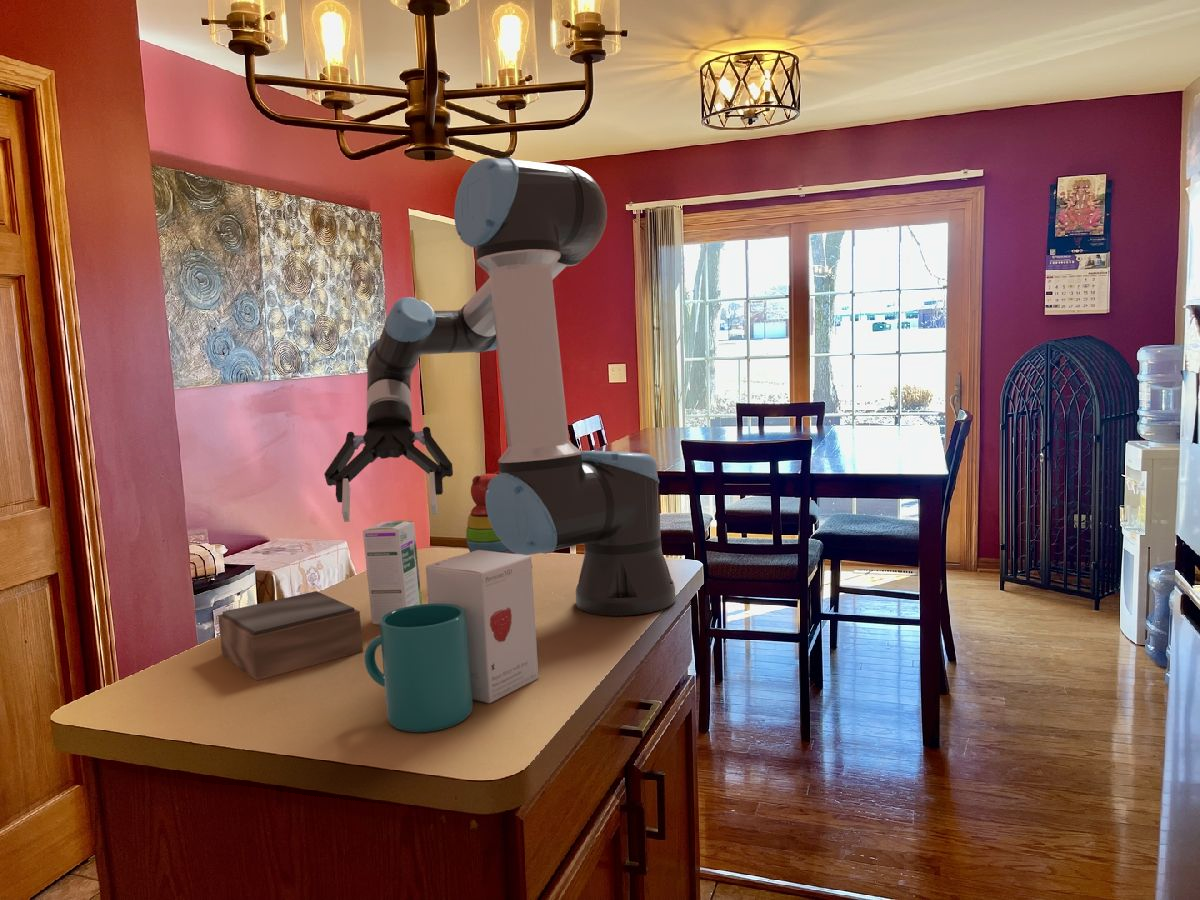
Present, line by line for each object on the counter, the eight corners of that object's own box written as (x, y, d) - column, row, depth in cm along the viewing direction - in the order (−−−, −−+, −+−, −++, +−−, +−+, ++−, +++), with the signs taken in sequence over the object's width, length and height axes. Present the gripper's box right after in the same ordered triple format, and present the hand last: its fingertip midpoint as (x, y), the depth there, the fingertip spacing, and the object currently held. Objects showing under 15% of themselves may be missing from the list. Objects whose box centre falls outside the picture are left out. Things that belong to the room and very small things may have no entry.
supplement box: (490, 705, 96) (480, 572, 94) (432, 691, 101) (422, 564, 100) (541, 678, 103) (533, 554, 102) (485, 666, 108) (476, 548, 107)
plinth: (363, 651, 117) (359, 607, 116) (256, 680, 108) (251, 633, 107) (322, 629, 128) (318, 589, 127) (222, 654, 119) (217, 611, 118)
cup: (393, 695, 101) (384, 600, 99) (487, 703, 97) (480, 604, 96) (346, 728, 92) (337, 625, 91) (448, 738, 88) (440, 630, 87)
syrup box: (407, 625, 127) (399, 527, 126) (370, 625, 129) (361, 528, 127) (423, 613, 133) (415, 519, 131) (387, 613, 134) (379, 520, 133)
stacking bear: (486, 582, 150) (479, 479, 148) (455, 573, 158) (448, 475, 156) (537, 569, 157) (530, 471, 155) (505, 561, 164) (498, 467, 163)
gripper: (463, 421, 156) (470, 519, 142) (318, 431, 152) (312, 533, 139) (461, 393, 150) (469, 492, 137) (310, 402, 146) (303, 505, 133)
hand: (390, 513), depth 138 cm, fingers open, 13 cm apart
